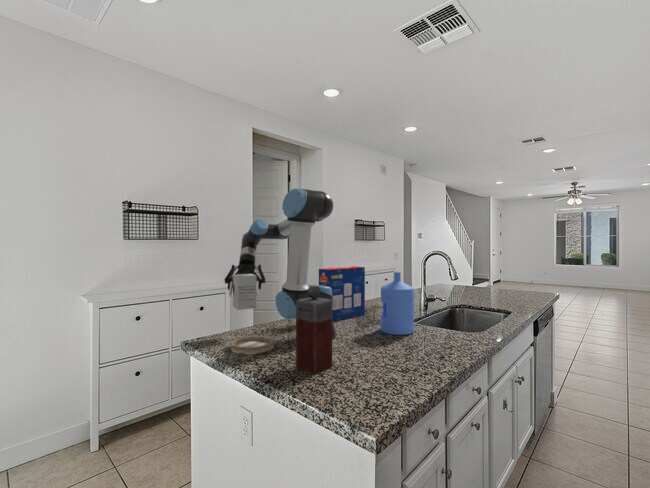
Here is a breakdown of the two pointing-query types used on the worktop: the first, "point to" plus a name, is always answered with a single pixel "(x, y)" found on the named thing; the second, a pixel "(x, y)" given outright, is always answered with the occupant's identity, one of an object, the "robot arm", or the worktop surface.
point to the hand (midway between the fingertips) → (243, 294)
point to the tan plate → (252, 344)
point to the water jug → (397, 307)
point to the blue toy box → (345, 290)
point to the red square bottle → (314, 332)
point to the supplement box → (244, 291)
